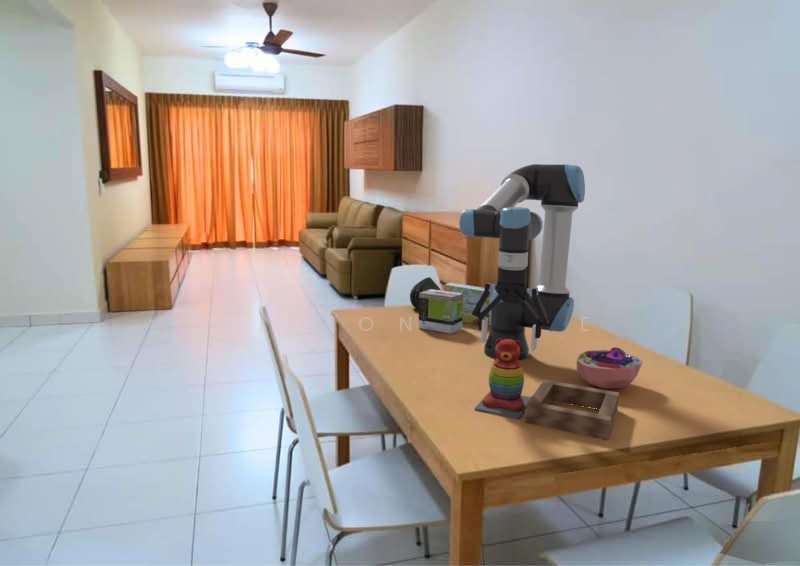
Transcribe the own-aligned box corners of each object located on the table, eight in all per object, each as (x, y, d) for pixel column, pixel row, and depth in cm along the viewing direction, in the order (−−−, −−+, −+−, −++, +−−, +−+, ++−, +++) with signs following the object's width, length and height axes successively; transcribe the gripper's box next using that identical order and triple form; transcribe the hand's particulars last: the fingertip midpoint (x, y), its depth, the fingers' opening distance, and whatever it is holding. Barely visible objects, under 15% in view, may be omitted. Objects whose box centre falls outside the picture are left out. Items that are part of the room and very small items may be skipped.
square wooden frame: (525, 422, 149) (526, 404, 148) (542, 396, 167) (544, 379, 166) (608, 440, 141) (610, 420, 140) (617, 410, 158) (619, 392, 157)
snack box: (442, 319, 249) (443, 284, 246) (449, 316, 254) (450, 282, 251) (487, 327, 237) (489, 290, 234) (494, 324, 242) (496, 288, 239)
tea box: (462, 329, 234) (464, 292, 231) (451, 334, 226) (452, 297, 223) (429, 323, 242) (431, 287, 239) (417, 328, 234) (418, 292, 231)
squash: (413, 302, 254) (434, 275, 256) (399, 296, 267) (419, 271, 269) (434, 321, 259) (455, 295, 262) (420, 315, 273) (439, 289, 275)
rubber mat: (474, 409, 156) (474, 408, 156) (491, 391, 170) (491, 389, 169) (518, 419, 151) (519, 417, 151) (532, 399, 164) (532, 397, 164)
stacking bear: (480, 406, 158) (483, 342, 154) (489, 393, 167) (492, 332, 163) (520, 413, 154) (525, 347, 150) (527, 399, 163) (532, 337, 159)
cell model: (561, 380, 180) (563, 344, 178) (612, 372, 188) (615, 338, 186) (599, 400, 165) (603, 361, 163) (653, 391, 173) (657, 354, 170)
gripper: (462, 265, 155) (459, 342, 159) (558, 274, 144) (552, 356, 149) (471, 261, 162) (468, 335, 166) (564, 269, 151) (558, 348, 155)
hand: (508, 345), depth 157 cm, fingers open, 13 cm apart
